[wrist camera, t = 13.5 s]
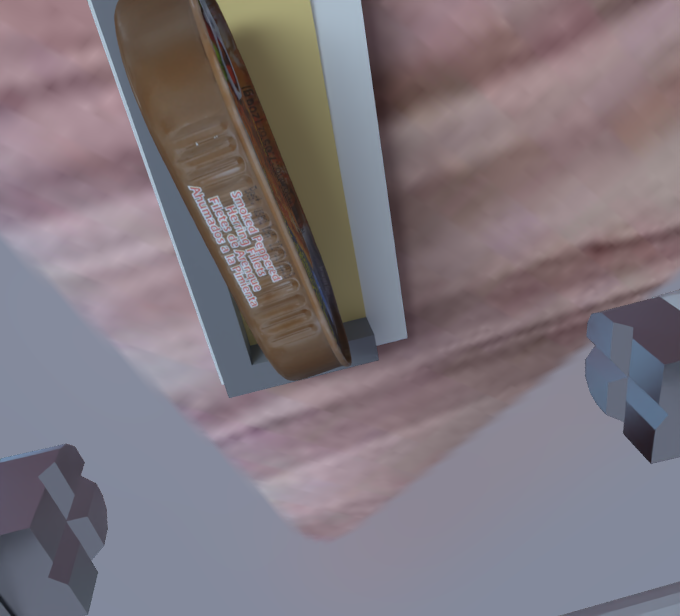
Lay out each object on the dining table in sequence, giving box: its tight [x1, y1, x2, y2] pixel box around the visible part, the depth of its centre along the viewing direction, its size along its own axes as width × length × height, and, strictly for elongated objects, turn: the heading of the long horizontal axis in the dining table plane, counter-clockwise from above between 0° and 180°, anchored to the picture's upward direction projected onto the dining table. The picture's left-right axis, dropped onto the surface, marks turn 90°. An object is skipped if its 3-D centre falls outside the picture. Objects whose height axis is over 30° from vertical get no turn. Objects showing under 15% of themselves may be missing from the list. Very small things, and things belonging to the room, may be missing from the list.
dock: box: [87, 0, 407, 398], centre depth 24 cm, size 10×22×4 cm, turn 10°
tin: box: [114, 0, 352, 381], centre depth 21 cm, size 15×3×8 cm, turn 19°
